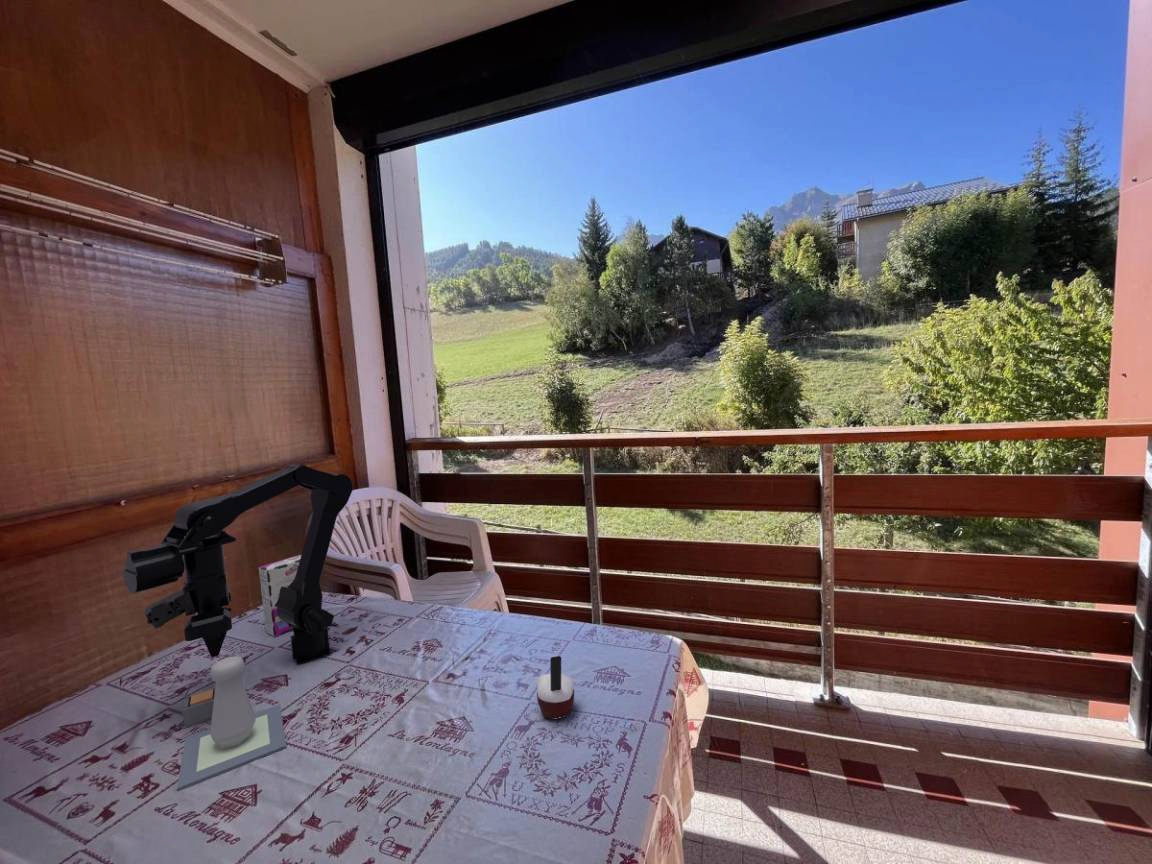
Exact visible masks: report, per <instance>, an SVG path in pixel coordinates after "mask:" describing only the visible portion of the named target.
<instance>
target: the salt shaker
mask: <svg viewBox="0 0 1152 864" xmlns="http://www.w3.org/2000/svg"><path fill="white" fill-rule="evenodd" d="M244 670H245V661H244V659H243V657H241V656H237V655H236V656H235V655H234V656H229V657H225V658H222V659H220V660H218V661H217V662H215V663H214V664H213V665H212V666H211V668H210V678H211V680H212V682H214V683H215V687H214V688H215V694H214V703H213V712H212V720H210V724H211V725H210V729H211V730H210V734H211V737H212V740H213V741H214V742H215V743H216V744H217V745H218V746H219V747H221V748H222V749H223V750H225V749H229V748H233V747H237V746H239V745H240V744H242V743H243V742H244V741H246V740H247V739H249V737H250V734H251V731H252V728H253V725H254V723H255V720H256V717H255V715H254V713H255V712H254V709H253V707H252V703H251V701H250V698H249V695H248V692H247V689H246V687H245V684H244V680H243V677H242V675H241V674H242V673H243V672H244Z"/></svg>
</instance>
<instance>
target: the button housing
mask: <svg viewBox="0 0 1152 864" xmlns="http://www.w3.org/2000/svg"><path fill="white" fill-rule="evenodd" d="M212 689H213V694H215V687H211V688H209V689H205V690H203V691H200V692H196V693H194V694H189V695H187V696H185V697H184V702H183V706H182V707H183V709H182V716H183V725H184V726H183V727H184V730H186V729H188V728H189V729H190V728H191V727H195V726H198V725H199V724H200V725H201V724H203V723H206V722H209V721H212V712H213V703H214V699H212V700H209V701H206V702H202V703H199V704H196V705H193V706H190V701H191V696H193V695H196V694H199V693H202V692H205V691H209V690H212Z"/></svg>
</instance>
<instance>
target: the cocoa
mask: <svg viewBox="0 0 1152 864" xmlns="http://www.w3.org/2000/svg"><path fill="white" fill-rule="evenodd" d="M549 663H550V665H549V666H550V673H546V674H545V673H544V674H542V675H540V676H539V677H538V679H537V682H536V683H537V684H536V691H537V692H536V699H537V703H538V707H539V710H540V712H541V713H542V714H543V716H544V717H546V716H547V717H546V718H548V717H549V718H548V719H550V718H559V717H563V716H565V715H567V714H568V715H569V714H570V712H571V711H572V709H573V707H574V702H575V701H574V700H575V681H574V680H573V678H571V677H570V676H568V675H566V674H565V673H563V672H562V657H561V656H559V655H557V656H552V657H550V662H549ZM568 715H567V716H568ZM565 717H566V716H565ZM563 718H564V717H563Z"/></svg>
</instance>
